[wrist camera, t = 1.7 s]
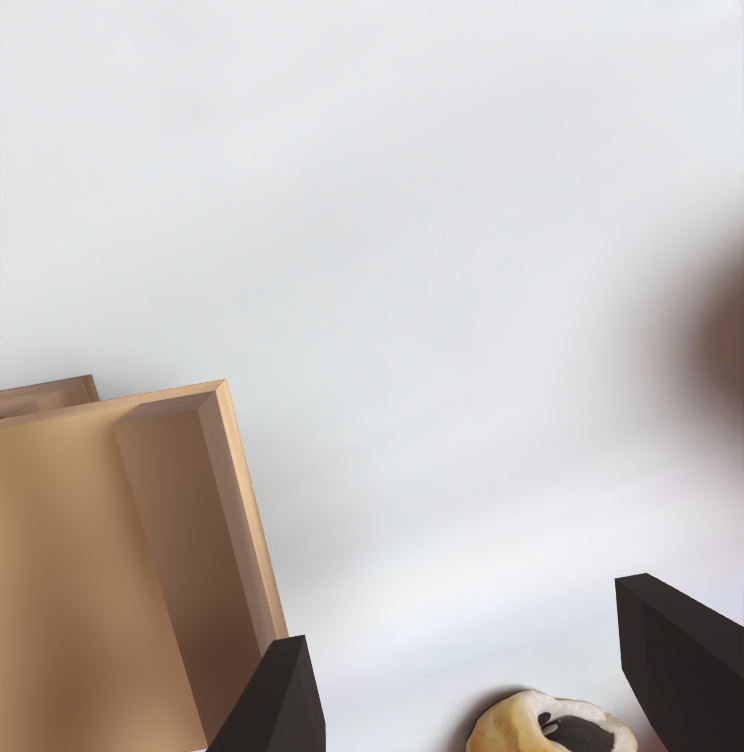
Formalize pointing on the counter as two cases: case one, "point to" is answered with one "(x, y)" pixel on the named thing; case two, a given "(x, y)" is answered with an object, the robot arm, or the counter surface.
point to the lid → (129, 574)
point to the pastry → (548, 727)
